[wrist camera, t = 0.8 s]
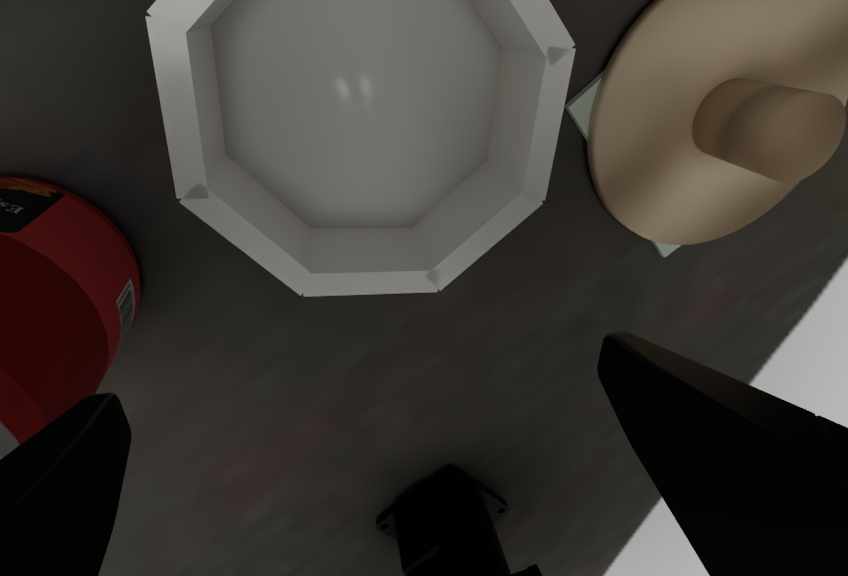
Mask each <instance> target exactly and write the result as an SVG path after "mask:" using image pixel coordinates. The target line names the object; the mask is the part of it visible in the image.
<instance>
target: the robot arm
mask: <svg viewBox="0 0 848 576" xmlns="http://www.w3.org/2000/svg"><path fill="white" fill-rule="evenodd" d="M597 371H598V376H599V379H600V381H601V383H602V386H603V388H604V390H605V392H606V394H607V396H608V398H609V400H610V403H611V405H612V407H613V409H614V411H615V413H616V415H617V417H618V420H619V422H620V424H621V426H622V428H623V430H624V432H625V434H626V436H627V438H628V440H629V442H630V444H631V446H632V447H633V449H634V451H635V453H636V454H637V456H638V458H639V459H640V461H641V463H642V464H643V466H644V468H645V469H646V471H647V473H648V474H649V476H650V478H651V479H652V481H653V483H654V484H655V486H656V487H657V489H658V491H659V492H660V494H661V496H662V497H663V499H664V501H665V502H666V504H667V506H668V507H669V509H670V510H671V512H672V514H673V515H674V517H675V519H676V521H677V522H678V524H679V525H680V527H681V529H682V530H683V532H684V534H685V535H686V537H687V538H688V540H689V542H690V544H691V545H692V547H693V549H694V550H695V552H696V553H697V555H698V557H699V558H700V560H701V562H702V564H703V565H704V567H705V569H706V570H707V572H708V573H709V575H710V576H848V428H846V427H844V426H842V425H840V424H837V423H835V422H833V421H831V420H828V419H826V418H824V417H821V416H815V414H814V413H812V412H810V411H807V410H805V409H803V408H800V407H798V406H796V405H794V404H791V403H789V402H787V401H784V400H782V399H780V398H777V397H775V396H773V395H771V394H768V393H766V392H764V391H762V390H759V389H757V388H755V387H752V386H750V385H748V384H746V383H743V382H741V381H739V380H736V379H734V378H732V377H729V376H727V375H725V374H723V373H720V372H718V371H716V370H713V369H711V368H709V367H707V366H704V365H702V364H700V363H697V362H695V361H693V360H691V359H688V358H686V357H684V356H681V355H679V354H677V353H675V352H672V351H670V350H668V349H665V348H663V347H661V346H659V345H656V344H654V343H652V342H649V341H647V340H645V339H642V338H640V337H638V336H636V335H633V334H631V333H629V332H616V333H609V334H607V335H606V336H605V337H604V339H603V343H602V348H601V352H600V357H599V361H598V367H597ZM130 444H131V429H130V426H129V423H128V421H127V418H126V415H125V413H124V410H123V408H122V405H121V403H120V400H119V398H118V397H117V395H116V394H114V393H103V394H95V395H89V396H86V397H84V398H83V399H82V400H80V401H79V402H77V403H76V404H75V405H73V406H72V407H71V408H69V409H68V410H67V411H65V412H64V413H63V414H61V415H60V416H58V417H57V418H56V419H54V420H53V421H52V422H50V423H49V424H48V425H46V426H45V427H44V428H42V429H41V430H39V431H38V432H37V433H35V434H34V435H33V436H31V437H30V438H29V439H27V440H26V441H25V442H23V443H22V444H20V445H19V446H18V447H16V448H15V449H14V450H12V451H11V452H10V453H8V454H7V455H6V456H4V457H3V458H1V459H0V576H98V574H99V571H100V568H101V565H102V562H103V559H104V556H105V553H106V549H107V546H108V543H109V540H110V537H111V533H112V530H113V527H114V523H115V518H116V514H117V509H118V504H119V499H120V494H121V489H122V484H123V479H124V474H125V469H126V464H127V459H128V454H129V449H130ZM507 512H508V506H507V503H506V502H505V501H504V500H502V499H501V498H500V497H498V496H497V495H495V494H494V493H492V492H491V491H489V490H488V489H487V488H485V487H484V486H482V485H481V484H479V483H478V482H476V481H475V480H473V479H472V478H471V477H469V476H468V475H466V474H465V473H463V472H462V471H460V470H459V469H457V468H456V467H454V466H448V467H445V468H444V469H442V470H441V471H440V472H438V473H437V474H436V475H434V476H433V477H432V478H430V479H429V480H428V481H426V482H425V483H424V484H423V485H421V486H420V487H419V488H417V489H416V490H415V491H413V492H412V493H411V494H409V495H408V496H407V497H405V498H404V499H403V500H401V501H400V502H399V503H397V504H396V505H395V506H393V507H392V508H391V509H389V510H388V511H387V512H385V513H384V514H383V515H382V516H380V517H379V518H378V519H377V521H376V524H377V529H378V530H379V531H381V532H383V533H385V534H387V535H389V536H391V537H392V538H394V539H396V540H397V541H398V547H399V553H400V559H401V565H402V571H403V574H405V576H542V574H541V572H540V570H539V568H538V566H537V564H535V565H532V566H529V567H527V568H528V569H526V570H522V571H519V572H516V573H513V574H511V573H510V570H509V567H508V564H507V561H506V558H505V556H504V553H503V550H502V547H501V544H500V542H499V539H498V536H497V533H496V530H495V528H494V525H493V522H494V521H496V520H497V519H499V518H500V517H501V516H503V515H504V514H506V513H507Z"/></svg>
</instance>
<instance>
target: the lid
mask: <svg viewBox="0 0 848 576" xmlns="http://www.w3.org/2000/svg"><path fill="white" fill-rule="evenodd" d="M847 98H848V0H654V1H653V2H652V3H651V4H650V5H649V6H648V7H647V8H646V9H645V10H644V11H643V12H642V13H641V14H640V16H639V17H638V18H637V19H636V21H635V22H634V23H633V24H632V26H631V27H630V28H629V29H628V31H627V32H626V34H625V35H624V37H623V38H622V40H621V41H620V43H619V44H618V46H617V47H616V49H615V51H614V53H613V55H612V56H611V58H610V60H609V62H608V64H607V66H606V68H605V70H604V73H603V75H602V78H601V81H600V83H599V86H598V88H597V91H596V95H595V98H594V102H593V105H592V109H591V115H590V121H589V126H588V138H587V152H588V164H589V169H590V173H591V178H592V181H593V184H594V187H595V189H596V192H597V194H598V196H599V198H600V199H601V201H602V203H603V205H604V206H605V207H606V208H607V210H608V211H609V212H610V213H611V215H612V216H613V217H615V218H616V219H617V220H618V221H619V222H620V223H622V224H623V225H624V226H626V227H627V228H628V229H630V230H631V231H633V232H635V233H636V234H638V235H640V236H641V237H644V238H646V239H649V240H651V241H654V242H658V243H663V244H670V245H688V244H697V243H702V242H707V241H711V240H714V239H717V238H720V237H723V236H726V235H728V234H730V233H732V232H734V231H737V230H739V229H741V228H742V227H744V226H746V225H748V224H749V223H751V222H753V221H754V220H756V219H757V218H759V217H760V216H762V215H763V214H764V213H766V212H767V211H769V210H770V209H771V208H772V207H773V206H775V205H776V204H777V203H778V202H779V201H781V200H782V199H783V198H784V197H785V196H786V195H787V194H788V193H789V192H790V191H791V190H792V189H793V188H794V187H795V186H796V185H797V184H798V183H799V181H800V180H802V179H804V178H806V177H808V176H810V175H812V174H813V173H814V172H816V171H817V170H818V169H819V168H821V167H822V166H823V165H824V164H825V163H826V162H827V161H828V159H829V158H830V157H831V156H832V154H833V153H834V151H835V150H836V148H837V147H838V145H839V143H840V141H841V138H842V136H843V133H844V130H845V125H846V112H845V108H844V107H845V105H846V101H847Z"/></svg>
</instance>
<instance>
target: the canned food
mask: <svg viewBox="0 0 848 576" xmlns="http://www.w3.org/2000/svg"><path fill="white" fill-rule="evenodd" d="M140 296H141V290H140V278H139V268H138V265H137V262H136V259H135V256H134V253H133V251H132V249H131V247H130V245H129V244H128V242H127V240H126V238H125V237H124V235H123V234H122V233H121V232H120V231H119V229H118V228H117V227H116V226H115V224H114V223H113V222H112V221H111V220H110V219H109V218H108V217H106V216H105V215H104V214H103V213H102V212H101V211H100V210H98V209H97V208H96V207H95V206H93V205H92V204H90V203H88V202H87V201H85V200H84V199H82V198H81V197H79V196H78V195H75V194H73V193H71V192H69V191H67V190H64V189H62V188H60V187H58V186H55V185H52V184H48V183H45V182H41V181H38V180H34V179H27V178H19V177H0V459H1V458H3V457H4V456H6V455H7V454H8V453H10V452H11V451H12V450H14V449H15V448H16V447H18V446H19V445H20V444H22V443H23V442H25V441H26V440H27V439H29V438H30V437H31V436H33V435H34V434H35V433H37V432H38V431H39V430H41V429H42V428H44V427H45V426H46V425H48V424H49V423H50V422H52V421H53V420H54V419H56V418H57V417H58V416H60V415H61V414H63V413H64V412H65V411H67V410H68V409H69V408H71V407H72V406H73V405H75V404H76V403H77V402H79V401H80V400H82V399H83V398H84V397H86V396H89V395H94V394H95V393H96V391H97V389H98V387H99V385H100V383H101V381H102V379H103V378H104V376H105V374H106V372H107V370H108V368H109V366H110V364H111V362H112V361H113V359H114V357H115V355H116V353H117V351H118V349H119V347H120V346H121V344H122V342H123V340H124V338H125V336H126V334H127V332H128V330H129V329H130V327H131V325H132V323H133V321H134V318H135V316H136V314H137V311H138V308H139V302H140Z"/></svg>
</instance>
